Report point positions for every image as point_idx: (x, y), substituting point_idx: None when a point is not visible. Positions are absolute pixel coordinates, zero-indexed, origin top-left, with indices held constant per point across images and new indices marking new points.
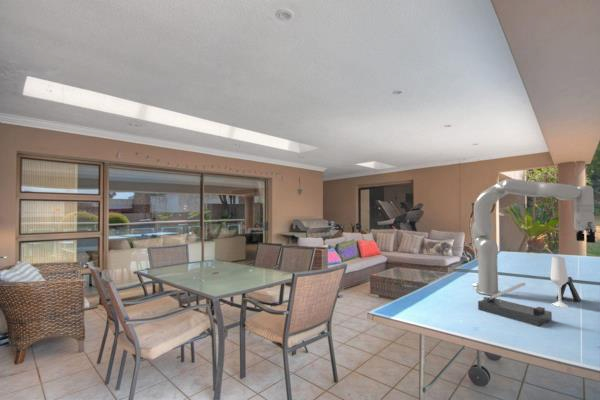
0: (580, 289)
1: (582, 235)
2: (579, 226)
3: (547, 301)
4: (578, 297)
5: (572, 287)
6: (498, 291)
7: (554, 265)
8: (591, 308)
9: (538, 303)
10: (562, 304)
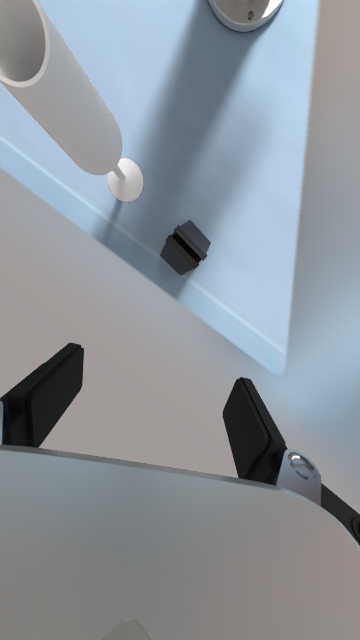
0: (280, 349)
1: (239, 452)
2: (14, 616)
3: (158, 169)
4: (172, 265)
5: (169, 249)
6: (243, 12)
7: (32, 43)
8: (114, 247)
9: (130, 117)
10: (112, 177)
